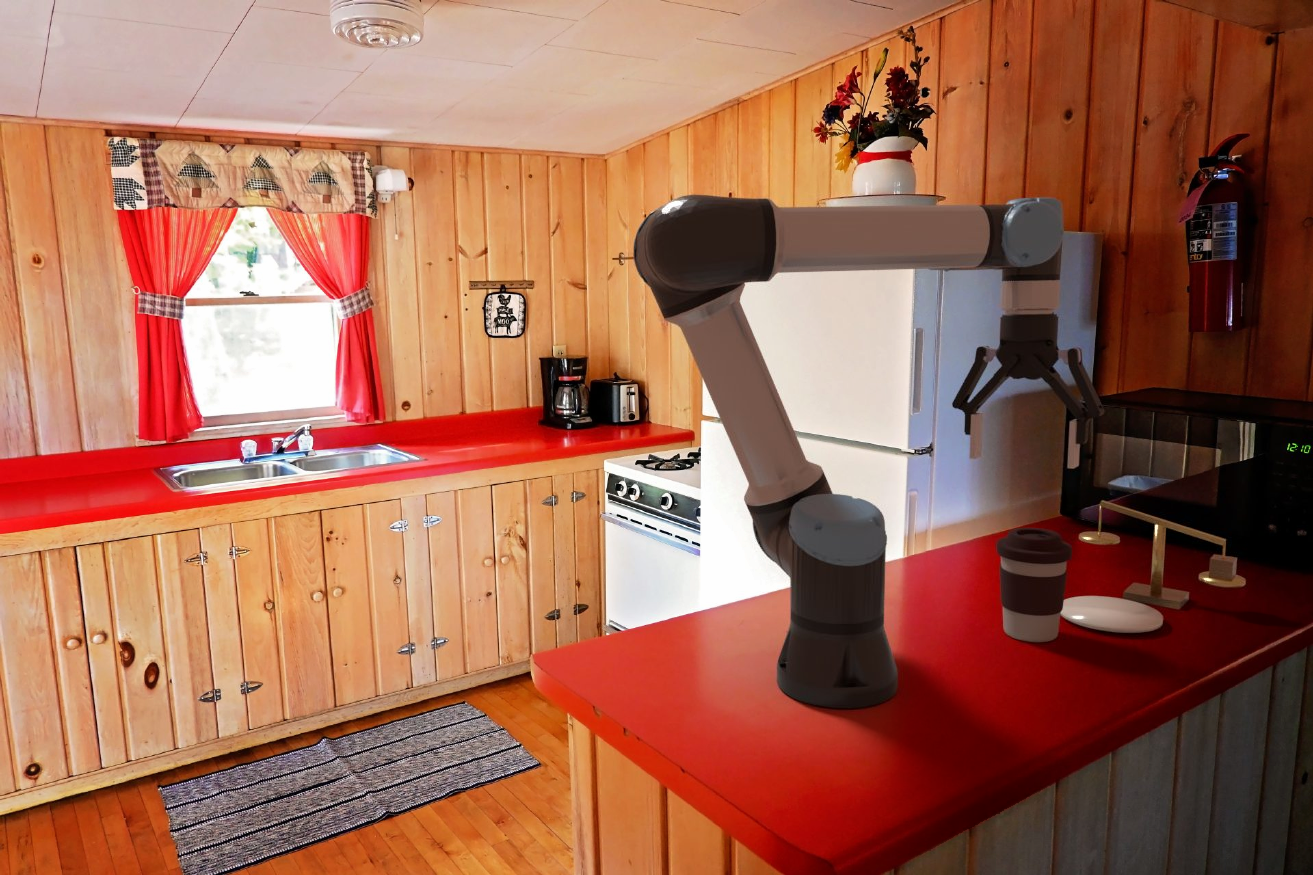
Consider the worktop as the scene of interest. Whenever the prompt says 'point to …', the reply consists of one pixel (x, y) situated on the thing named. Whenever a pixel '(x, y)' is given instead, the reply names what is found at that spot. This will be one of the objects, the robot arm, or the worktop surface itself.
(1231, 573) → the balance
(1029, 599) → the coffee cup
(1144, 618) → the saucer
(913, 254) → the robot arm
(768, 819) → the worktop surface
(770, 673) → the worktop surface
